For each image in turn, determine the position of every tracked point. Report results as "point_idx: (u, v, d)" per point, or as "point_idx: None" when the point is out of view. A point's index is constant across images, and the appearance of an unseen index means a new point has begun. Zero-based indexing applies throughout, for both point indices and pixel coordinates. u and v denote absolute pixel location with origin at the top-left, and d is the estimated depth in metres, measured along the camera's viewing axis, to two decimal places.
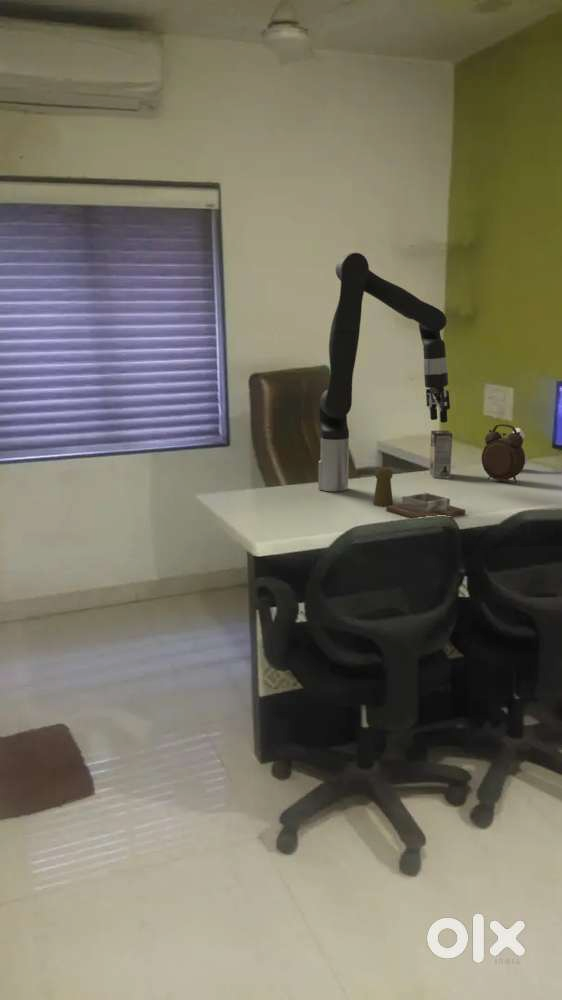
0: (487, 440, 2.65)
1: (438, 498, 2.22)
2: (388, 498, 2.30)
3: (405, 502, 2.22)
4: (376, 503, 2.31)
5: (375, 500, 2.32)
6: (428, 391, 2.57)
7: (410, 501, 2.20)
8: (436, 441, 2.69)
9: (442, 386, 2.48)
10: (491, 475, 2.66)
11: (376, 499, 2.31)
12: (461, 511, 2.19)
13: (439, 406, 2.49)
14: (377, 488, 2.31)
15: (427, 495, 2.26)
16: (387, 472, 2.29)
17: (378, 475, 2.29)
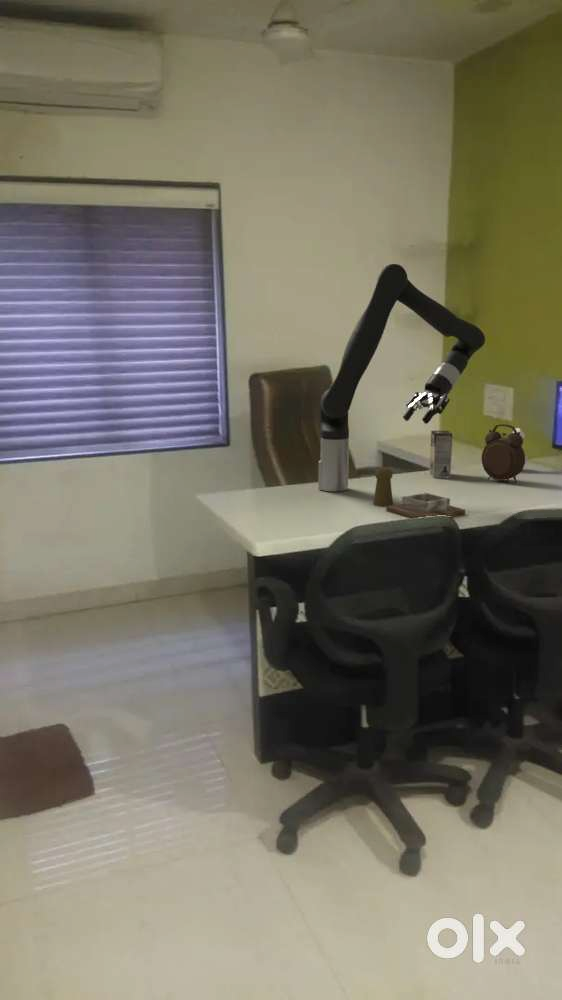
0: (487, 440, 2.65)
1: (438, 498, 2.22)
2: (388, 498, 2.30)
3: (405, 502, 2.22)
4: (376, 503, 2.31)
5: (375, 500, 2.32)
6: (417, 394, 2.40)
7: (410, 501, 2.20)
8: (436, 441, 2.69)
9: (444, 393, 2.34)
10: (491, 475, 2.66)
11: (376, 499, 2.31)
12: (461, 511, 2.19)
13: (432, 405, 2.31)
14: (377, 488, 2.31)
15: (427, 495, 2.26)
16: (387, 472, 2.29)
17: (378, 475, 2.29)
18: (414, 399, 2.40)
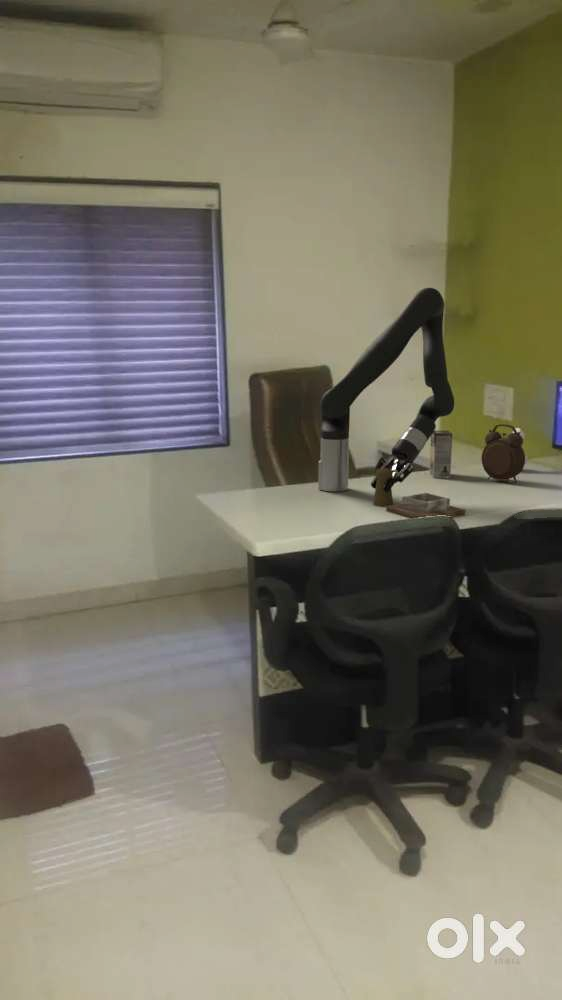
0: (487, 440, 2.65)
1: (438, 498, 2.22)
2: (388, 498, 2.30)
3: (405, 502, 2.22)
4: (376, 503, 2.31)
5: (375, 500, 2.32)
6: (383, 459, 2.37)
7: (410, 501, 2.20)
8: (436, 441, 2.69)
9: (410, 459, 2.31)
10: (491, 475, 2.66)
11: (376, 499, 2.31)
12: (461, 511, 2.19)
13: (393, 473, 2.29)
14: (377, 488, 2.31)
15: (427, 495, 2.26)
16: (387, 472, 2.29)
17: (378, 474, 2.29)
18: (381, 465, 2.37)
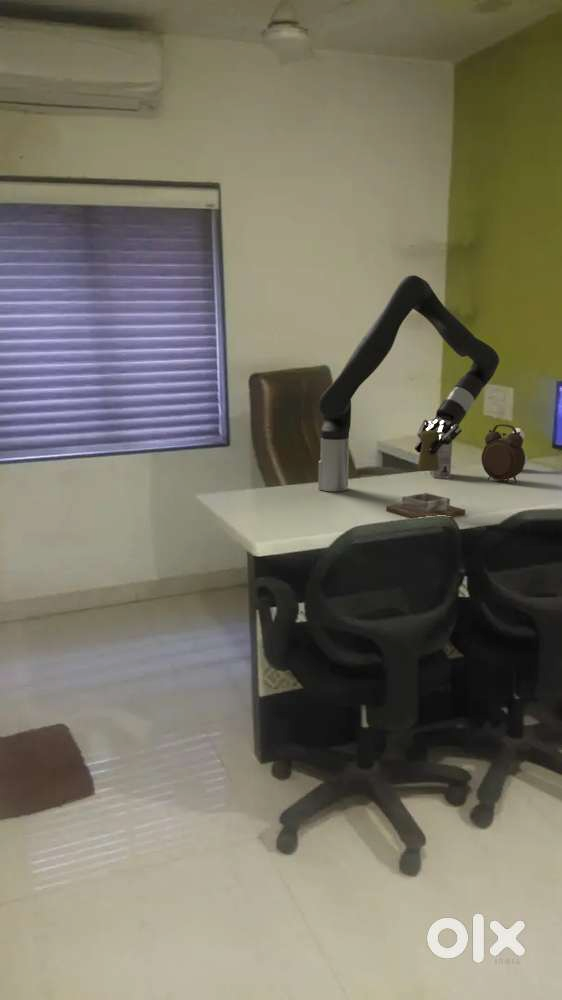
0: (487, 440, 2.65)
1: (438, 498, 2.22)
2: (434, 462, 2.17)
3: (405, 502, 2.22)
4: (421, 467, 2.17)
5: (420, 464, 2.18)
6: (426, 422, 2.23)
7: (410, 501, 2.20)
8: None
9: (457, 421, 2.17)
10: (491, 475, 2.66)
11: (422, 463, 2.17)
12: (461, 511, 2.19)
13: (440, 435, 2.15)
14: (423, 451, 2.17)
15: (427, 495, 2.26)
16: (433, 434, 2.15)
17: (424, 437, 2.15)
18: (425, 428, 2.23)
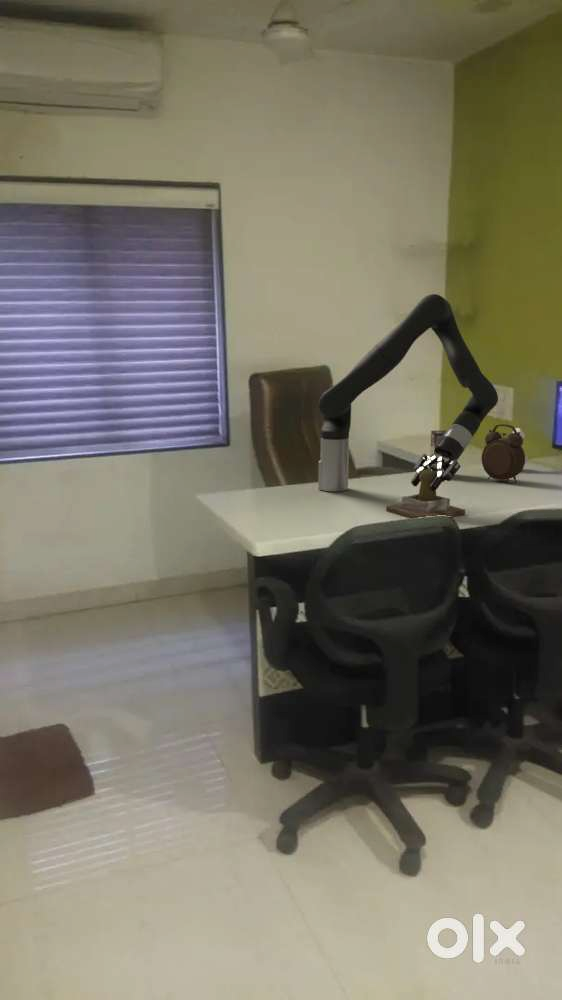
0: (487, 440, 2.65)
1: (438, 498, 2.22)
2: None
3: (405, 502, 2.22)
4: None
5: None
6: (425, 456, 2.26)
7: (410, 501, 2.20)
8: (436, 441, 2.69)
9: (455, 458, 2.19)
10: (491, 475, 2.66)
11: None
12: (461, 511, 2.19)
13: (440, 472, 2.17)
14: (422, 490, 2.19)
15: None
16: (432, 474, 2.17)
17: (423, 477, 2.18)
18: (423, 462, 2.26)
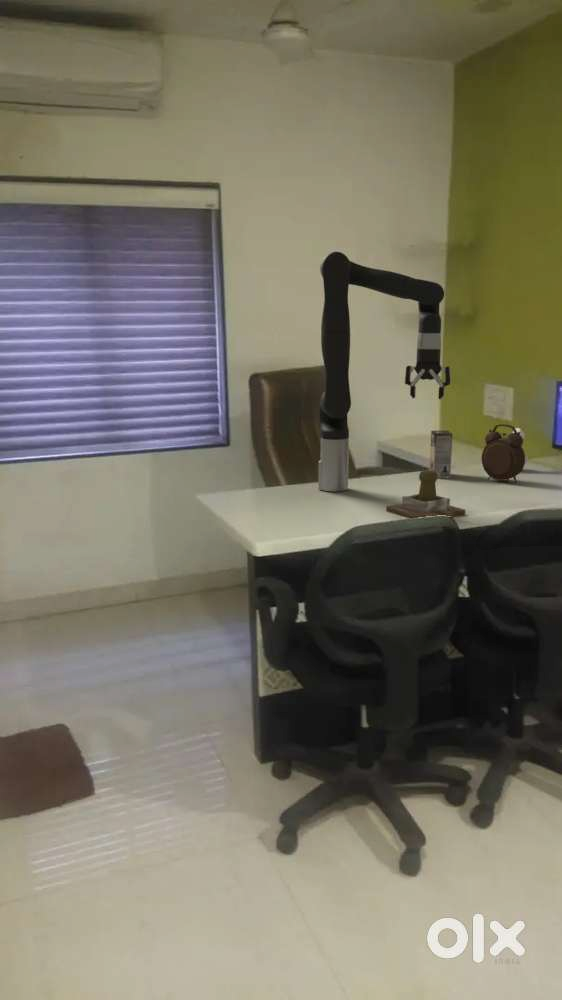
0: (487, 440, 2.65)
1: (438, 498, 2.22)
2: None
3: (405, 502, 2.22)
4: None
5: None
6: (410, 368, 2.47)
7: (410, 501, 2.20)
8: (436, 441, 2.69)
9: None
10: (491, 475, 2.66)
11: None
12: (461, 511, 2.19)
13: (440, 382, 2.44)
14: (422, 490, 2.19)
15: None
16: (432, 474, 2.17)
17: (423, 477, 2.18)
18: (409, 374, 2.48)
